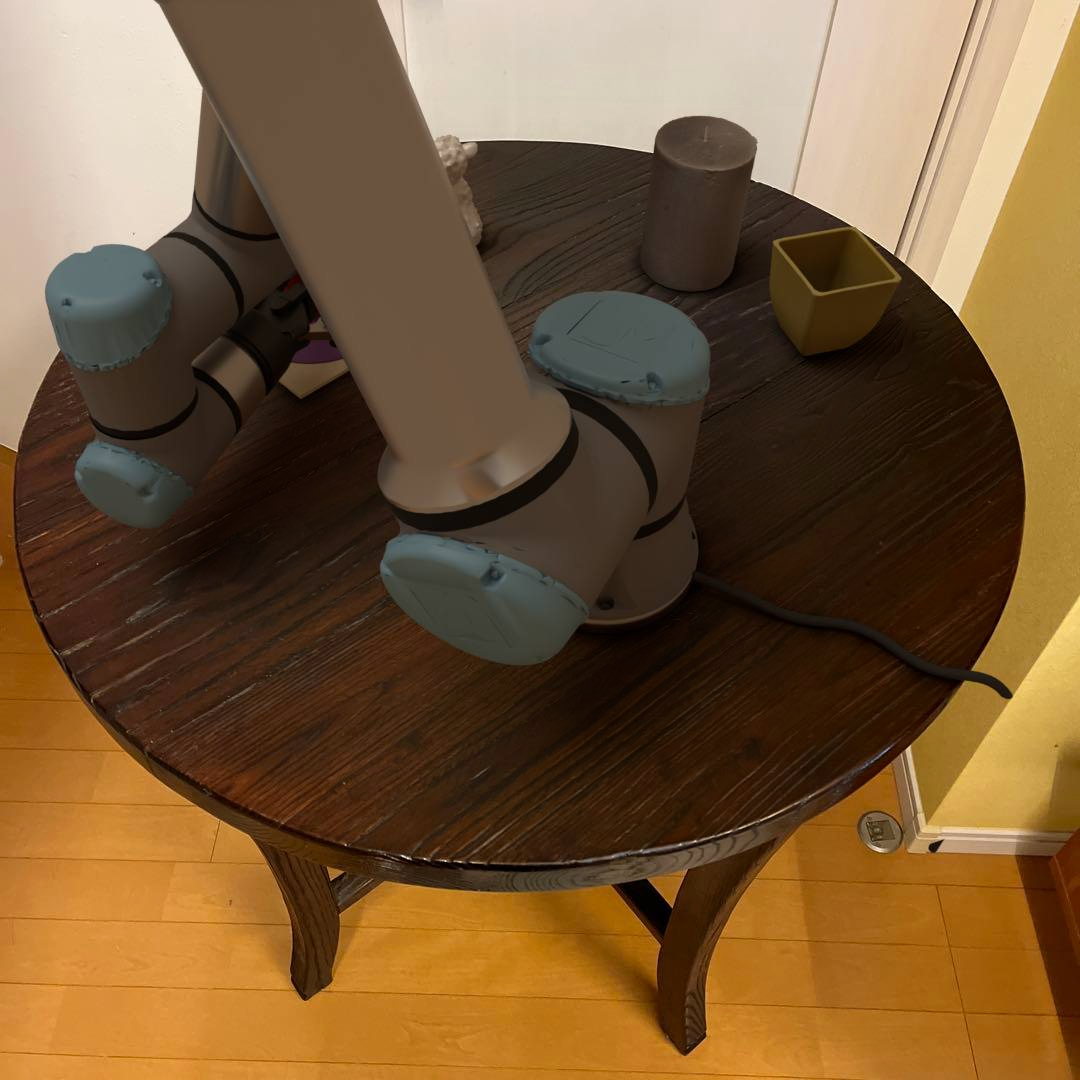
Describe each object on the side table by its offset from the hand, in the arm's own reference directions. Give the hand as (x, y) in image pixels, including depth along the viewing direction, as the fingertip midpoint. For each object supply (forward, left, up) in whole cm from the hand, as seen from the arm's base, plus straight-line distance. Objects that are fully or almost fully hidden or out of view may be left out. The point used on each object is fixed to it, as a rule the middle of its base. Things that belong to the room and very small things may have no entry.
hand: (357, 211), depth 99 cm
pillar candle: (-19, -27, -9) cm, 34 cm away
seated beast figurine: (+1, -12, -9) cm, 15 cm away
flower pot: (-35, -27, -9) cm, 45 cm away
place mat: (0, +7, -9) cm, 11 cm away
